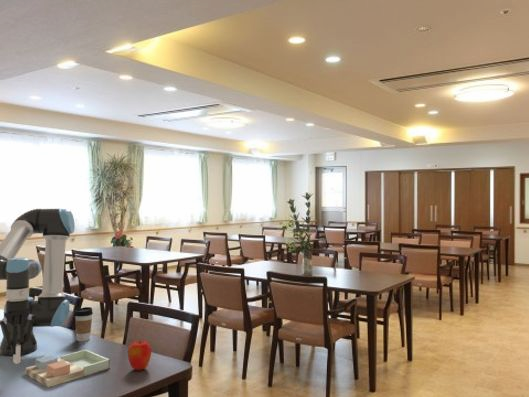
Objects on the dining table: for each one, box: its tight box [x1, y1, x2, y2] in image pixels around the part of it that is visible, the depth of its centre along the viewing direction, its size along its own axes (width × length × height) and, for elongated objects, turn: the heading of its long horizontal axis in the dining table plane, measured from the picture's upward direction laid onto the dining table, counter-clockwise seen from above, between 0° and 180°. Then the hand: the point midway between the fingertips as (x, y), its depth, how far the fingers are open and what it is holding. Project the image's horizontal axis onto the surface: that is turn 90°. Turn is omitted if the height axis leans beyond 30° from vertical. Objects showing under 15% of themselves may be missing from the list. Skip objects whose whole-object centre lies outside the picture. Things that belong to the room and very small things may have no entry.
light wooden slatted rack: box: [25, 358, 85, 388], centre depth 178 cm, size 19×14×2 cm
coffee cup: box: [74, 306, 94, 342], centre depth 224 cm, size 8×8×15 cm
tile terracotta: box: [47, 361, 70, 377], centre depth 175 cm, size 6×6×3 cm
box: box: [60, 349, 111, 377], centre depth 188 cm, size 19×11×4 cm, turn 50°
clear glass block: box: [34, 354, 59, 370], centre depth 181 cm, size 6×6×3 cm
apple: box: [127, 340, 152, 371], centre depth 185 cm, size 9×9×12 cm
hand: (16, 362), depth 172 cm, fingers closed
